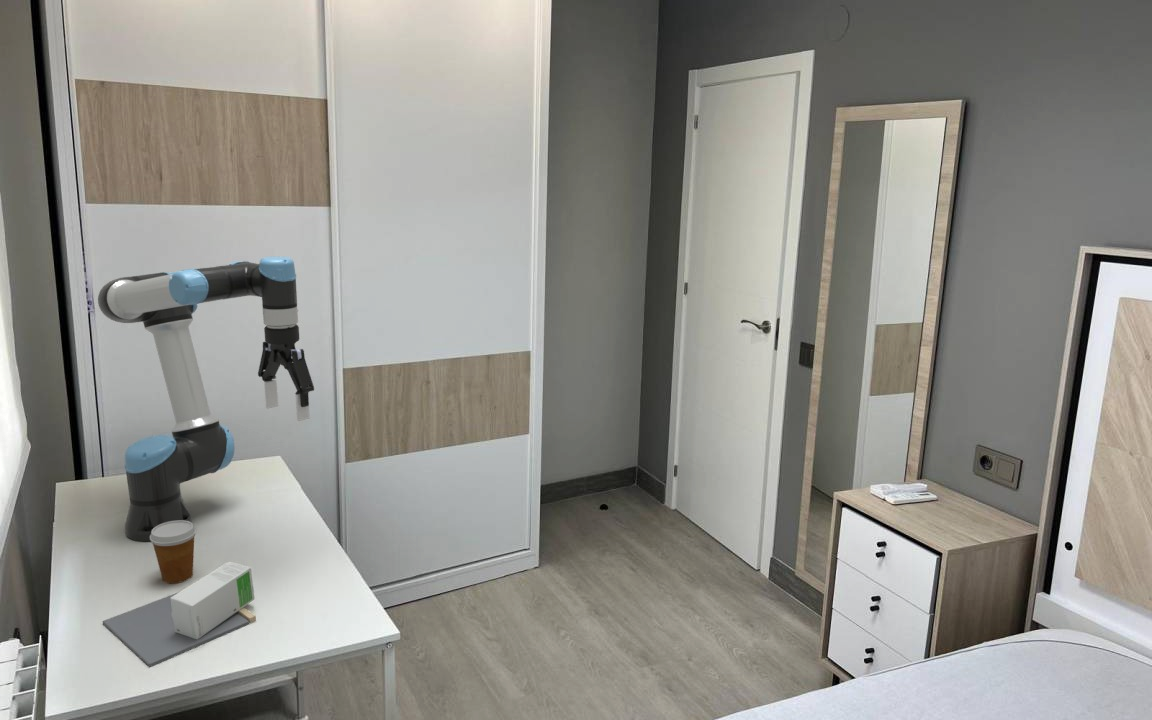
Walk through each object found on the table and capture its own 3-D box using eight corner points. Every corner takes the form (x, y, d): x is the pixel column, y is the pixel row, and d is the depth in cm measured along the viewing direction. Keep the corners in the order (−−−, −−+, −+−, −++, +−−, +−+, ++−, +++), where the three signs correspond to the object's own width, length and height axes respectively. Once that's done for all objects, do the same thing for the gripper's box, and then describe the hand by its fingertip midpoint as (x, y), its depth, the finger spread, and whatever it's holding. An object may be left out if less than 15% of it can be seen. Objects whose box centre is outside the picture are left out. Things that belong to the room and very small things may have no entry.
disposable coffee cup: (155, 591, 184) (149, 541, 181) (154, 571, 193) (148, 524, 190) (202, 581, 189) (197, 533, 186) (199, 563, 197) (194, 516, 194)
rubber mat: (103, 623, 172) (102, 618, 171) (205, 584, 187) (204, 579, 187) (149, 667, 158) (149, 661, 157) (256, 620, 174) (255, 615, 173)
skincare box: (255, 599, 179) (198, 642, 166) (232, 591, 182) (174, 633, 168) (251, 565, 176) (192, 606, 163) (227, 558, 179) (167, 598, 165)
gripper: (326, 330, 187) (331, 421, 192) (267, 315, 202) (274, 398, 207) (296, 336, 181) (302, 428, 186) (238, 319, 197) (245, 405, 202)
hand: (287, 413), depth 197 cm, fingers open, 13 cm apart
